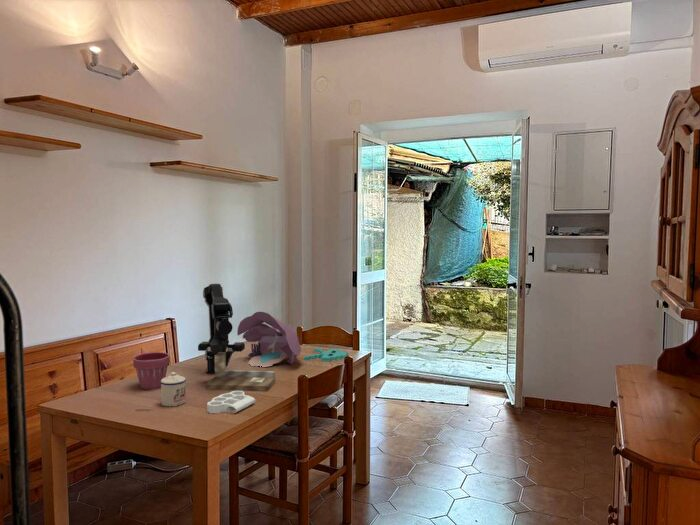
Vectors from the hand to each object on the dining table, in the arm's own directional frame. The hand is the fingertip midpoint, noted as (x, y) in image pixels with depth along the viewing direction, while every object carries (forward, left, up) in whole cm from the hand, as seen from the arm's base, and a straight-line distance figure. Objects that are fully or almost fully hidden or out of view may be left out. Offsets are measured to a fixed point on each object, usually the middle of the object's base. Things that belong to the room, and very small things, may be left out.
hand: (221, 366), depth 211 cm
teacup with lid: (-10, -24, -8) cm, 27 cm away
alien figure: (+40, +51, -8) cm, 65 cm away
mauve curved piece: (+12, +36, -8) cm, 39 cm away
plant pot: (-28, -6, -8) cm, 30 cm away
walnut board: (+9, -2, -8) cm, 12 cm away
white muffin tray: (+12, -27, -8) cm, 30 cm away
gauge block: (0, 0, -2) cm, 2 cm away
